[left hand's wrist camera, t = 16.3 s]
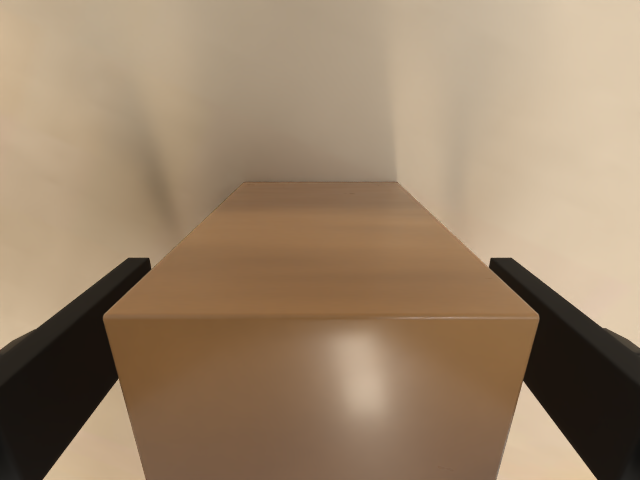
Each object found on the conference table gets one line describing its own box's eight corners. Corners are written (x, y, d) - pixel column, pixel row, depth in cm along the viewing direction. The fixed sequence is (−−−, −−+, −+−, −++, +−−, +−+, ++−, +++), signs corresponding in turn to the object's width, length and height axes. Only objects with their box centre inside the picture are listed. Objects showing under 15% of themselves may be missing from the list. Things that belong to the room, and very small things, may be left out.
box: (243, 181, 15) (99, 315, 5) (397, 181, 15) (542, 315, 5) (270, 514, 23) (233, 810, 14) (370, 514, 23) (408, 810, 14)
